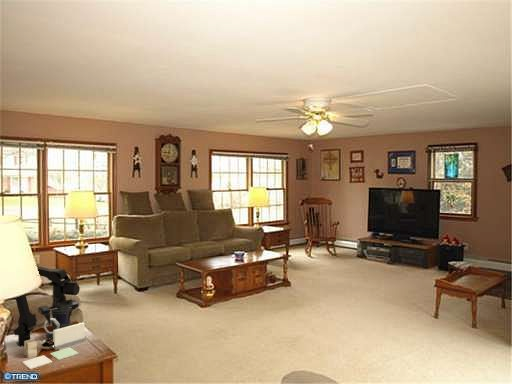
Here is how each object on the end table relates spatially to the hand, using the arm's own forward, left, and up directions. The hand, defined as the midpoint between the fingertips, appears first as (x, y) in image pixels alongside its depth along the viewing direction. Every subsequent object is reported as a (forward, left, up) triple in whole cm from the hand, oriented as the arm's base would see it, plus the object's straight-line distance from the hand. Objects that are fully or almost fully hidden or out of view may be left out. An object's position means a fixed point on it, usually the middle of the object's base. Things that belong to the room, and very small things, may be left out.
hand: (58, 323), depth 220 cm
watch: (-14, +2, -13) cm, 19 cm away
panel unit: (-3, +5, -13) cm, 14 cm away
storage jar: (-23, +11, -13) cm, 28 cm away
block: (0, -14, -13) cm, 19 cm away
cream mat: (+11, -15, -13) cm, 22 cm away
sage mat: (+11, -2, -13) cm, 17 cm away
